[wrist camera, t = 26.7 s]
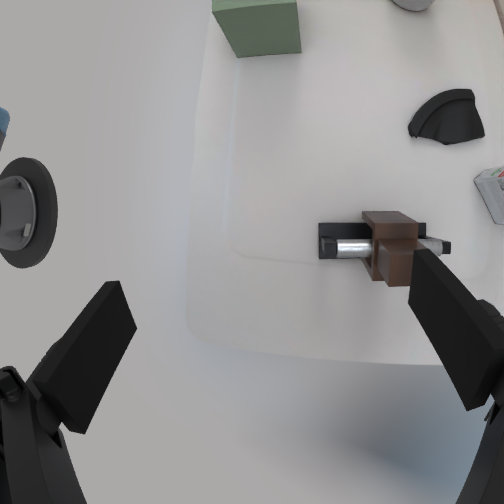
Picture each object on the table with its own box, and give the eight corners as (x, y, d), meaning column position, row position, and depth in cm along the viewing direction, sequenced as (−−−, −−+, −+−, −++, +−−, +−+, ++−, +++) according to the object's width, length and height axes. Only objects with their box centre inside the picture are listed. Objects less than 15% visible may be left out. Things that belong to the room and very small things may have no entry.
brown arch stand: (361, 259, 41) (383, 304, 27) (362, 211, 39) (388, 235, 26) (396, 258, 40) (432, 302, 26) (398, 211, 38) (439, 235, 25)
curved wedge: (397, 99, 40) (399, 95, 39) (467, 90, 37) (471, 87, 36) (414, 151, 41) (417, 149, 39) (483, 139, 38) (488, 137, 37)
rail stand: (318, 258, 45) (321, 272, 35) (318, 222, 45) (321, 226, 34) (423, 256, 43) (453, 270, 32) (424, 222, 42) (455, 226, 31)
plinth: (237, 58, 43) (211, 11, 30) (236, 11, 42) (213, -38, 29) (301, 53, 42) (296, 2, 28) (295, 6, 40) (289, -48, 27)
